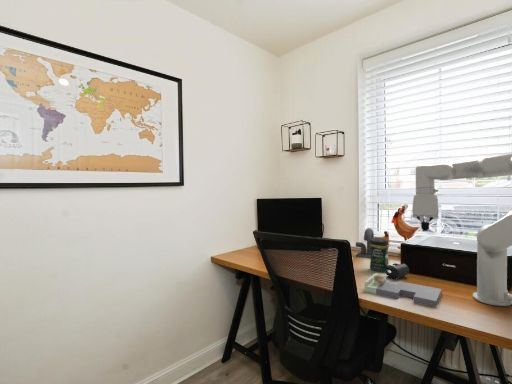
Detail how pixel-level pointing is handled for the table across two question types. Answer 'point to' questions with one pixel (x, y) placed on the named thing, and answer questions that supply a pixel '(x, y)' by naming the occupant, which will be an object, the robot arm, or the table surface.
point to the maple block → (379, 279)
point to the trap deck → (405, 291)
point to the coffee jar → (379, 254)
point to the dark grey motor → (397, 271)
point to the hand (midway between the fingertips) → (425, 230)
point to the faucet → (367, 237)
